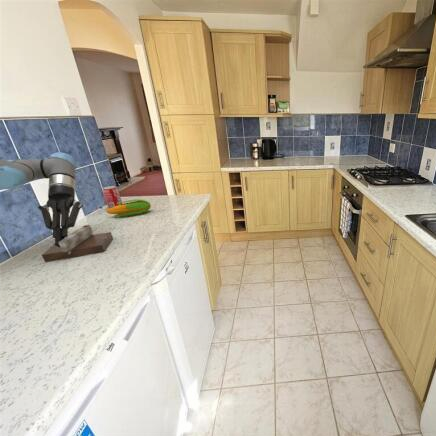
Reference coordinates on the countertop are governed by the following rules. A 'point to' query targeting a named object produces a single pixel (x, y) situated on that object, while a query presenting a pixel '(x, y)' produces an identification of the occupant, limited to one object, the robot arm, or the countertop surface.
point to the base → (80, 248)
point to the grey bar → (75, 238)
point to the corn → (130, 208)
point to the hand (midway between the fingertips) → (59, 245)
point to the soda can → (111, 196)
